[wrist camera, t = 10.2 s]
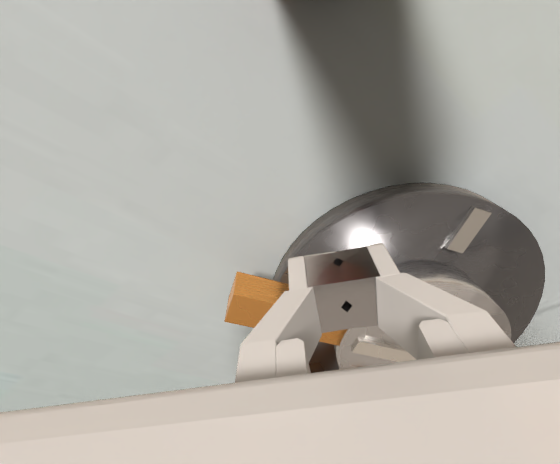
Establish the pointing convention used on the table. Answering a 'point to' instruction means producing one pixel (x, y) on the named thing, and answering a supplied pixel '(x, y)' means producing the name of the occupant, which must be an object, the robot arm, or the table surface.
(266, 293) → the dial
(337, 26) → the table surface
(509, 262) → the plate
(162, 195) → the table surface
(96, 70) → the table surface
